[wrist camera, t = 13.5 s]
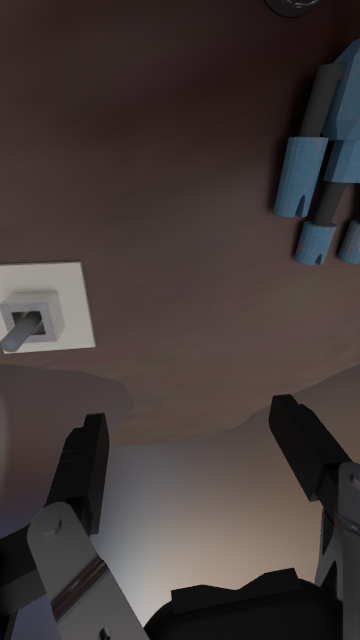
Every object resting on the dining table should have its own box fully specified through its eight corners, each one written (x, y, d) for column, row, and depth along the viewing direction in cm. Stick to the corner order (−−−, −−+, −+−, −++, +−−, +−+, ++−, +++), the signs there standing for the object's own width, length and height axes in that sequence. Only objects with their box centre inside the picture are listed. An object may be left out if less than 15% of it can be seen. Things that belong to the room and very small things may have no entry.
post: (-23, 264, 36) (-86, 290, 26) (81, 261, 37) (59, 284, 28) (7, 350, 42) (-34, 397, 32) (95, 343, 43) (82, 386, 34)
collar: (14, 292, 37) (-2, 304, 33) (57, 290, 38) (47, 301, 34) (25, 329, 40) (11, 344, 36) (65, 326, 40) (57, 341, 36)
